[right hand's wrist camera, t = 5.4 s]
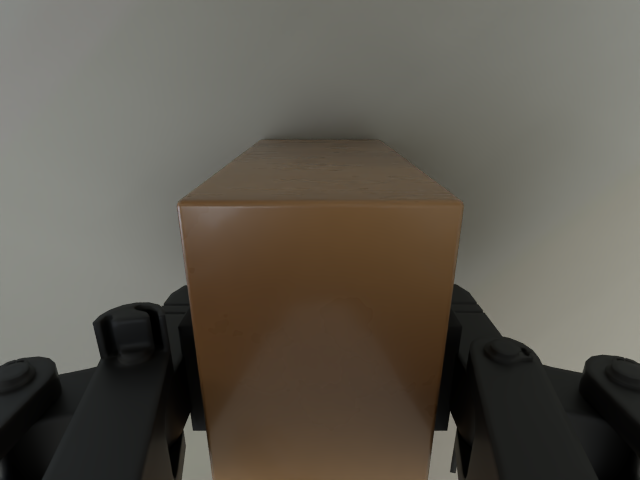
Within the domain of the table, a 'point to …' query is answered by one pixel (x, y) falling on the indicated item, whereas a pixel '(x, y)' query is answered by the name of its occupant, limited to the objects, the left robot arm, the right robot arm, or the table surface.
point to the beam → (320, 310)
